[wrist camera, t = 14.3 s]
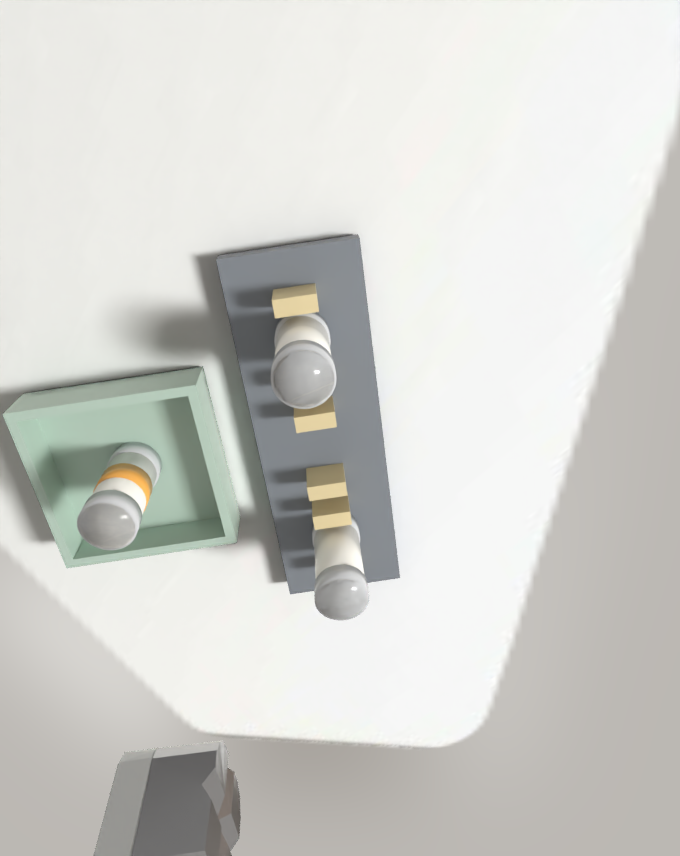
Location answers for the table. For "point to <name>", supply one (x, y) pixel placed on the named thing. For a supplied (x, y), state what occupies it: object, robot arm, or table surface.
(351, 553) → the outer fuse
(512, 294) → the table surface
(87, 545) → the parts tray
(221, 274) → the fuse holder
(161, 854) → the robot arm
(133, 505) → the marked fuse
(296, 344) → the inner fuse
